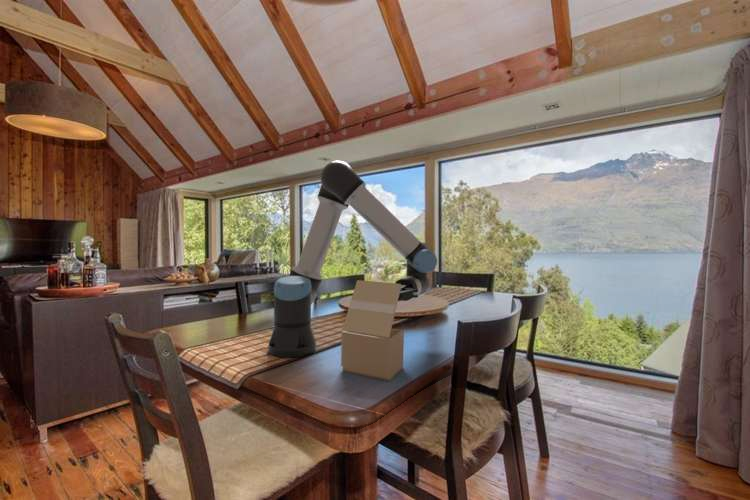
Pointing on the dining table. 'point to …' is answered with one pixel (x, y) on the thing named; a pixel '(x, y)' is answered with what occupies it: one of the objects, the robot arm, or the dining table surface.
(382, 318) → the flap
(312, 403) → the dining table surface
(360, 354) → the carton
